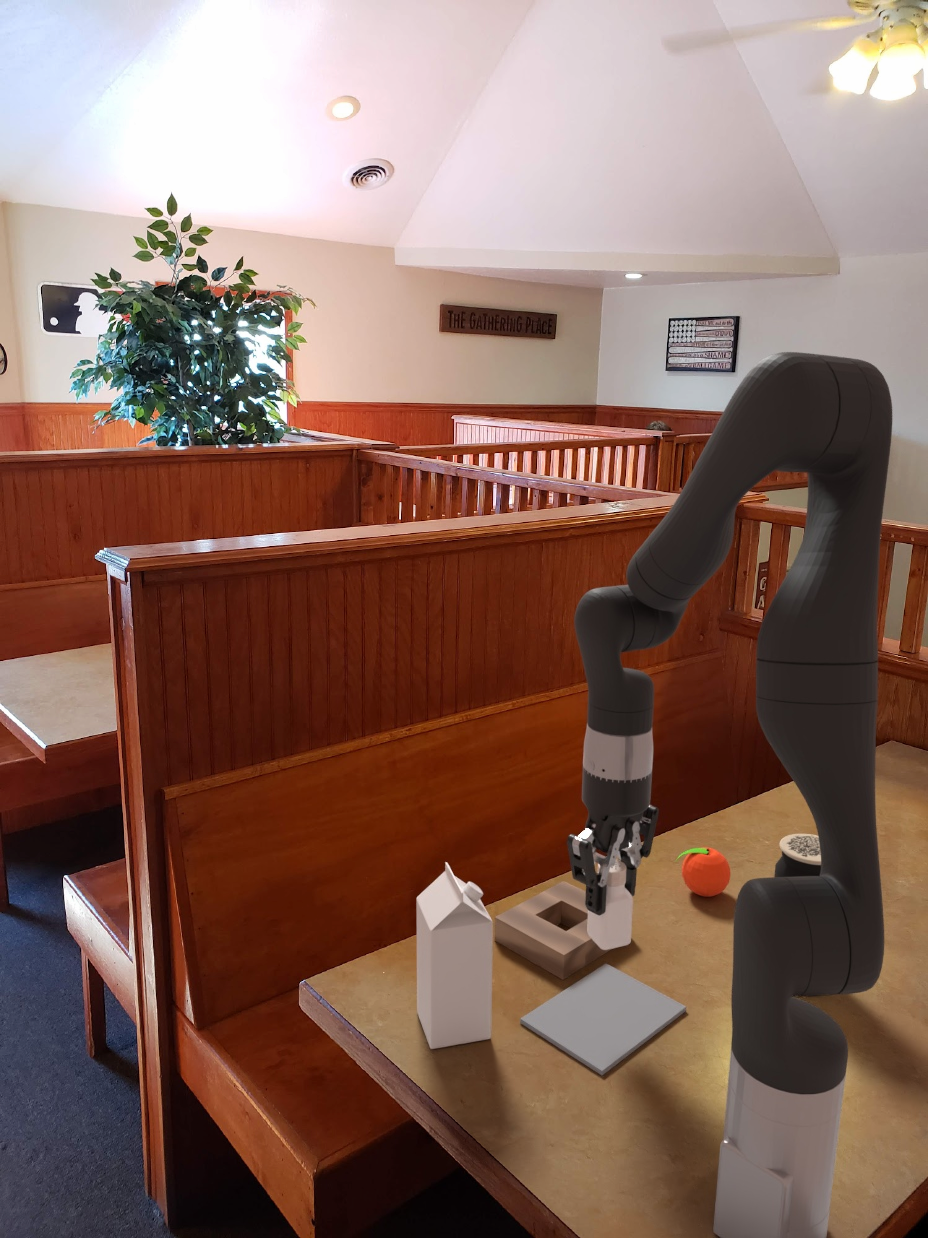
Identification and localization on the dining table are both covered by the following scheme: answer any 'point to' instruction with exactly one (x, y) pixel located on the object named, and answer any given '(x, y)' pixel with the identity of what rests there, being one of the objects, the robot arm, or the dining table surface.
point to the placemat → (603, 1017)
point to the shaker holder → (550, 930)
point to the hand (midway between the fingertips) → (610, 902)
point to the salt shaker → (613, 912)
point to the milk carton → (454, 962)
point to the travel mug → (799, 856)
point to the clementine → (705, 871)
